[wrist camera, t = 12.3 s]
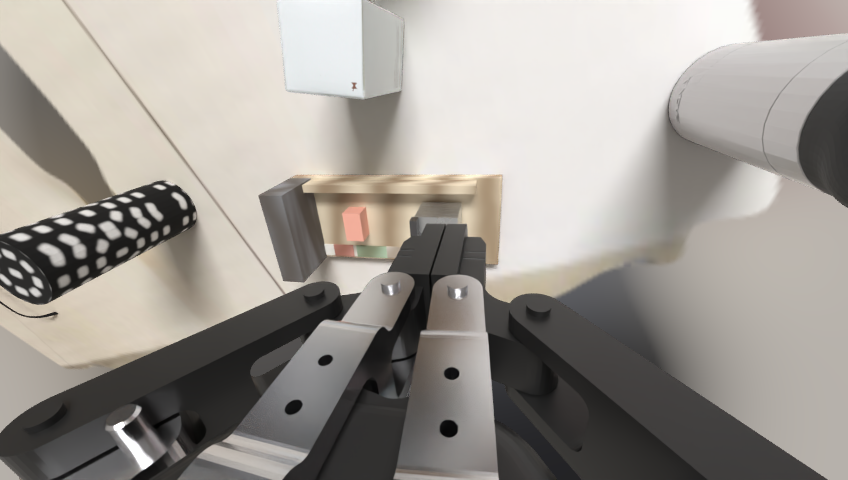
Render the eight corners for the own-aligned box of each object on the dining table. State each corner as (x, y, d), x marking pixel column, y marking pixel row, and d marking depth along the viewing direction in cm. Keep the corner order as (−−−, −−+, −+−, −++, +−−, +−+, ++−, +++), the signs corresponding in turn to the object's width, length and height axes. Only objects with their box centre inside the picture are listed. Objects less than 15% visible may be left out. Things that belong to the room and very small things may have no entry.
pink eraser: (365, 207, 45) (359, 213, 43) (369, 233, 47) (363, 241, 45) (349, 206, 46) (342, 213, 44) (353, 233, 47) (346, 240, 45)
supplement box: (405, 17, 36) (365, -5, 25) (402, 92, 39) (365, 103, 28) (340, 12, 37) (272, -12, 26) (342, 86, 40) (284, 93, 29)
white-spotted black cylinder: (150, 217, 55) (-9, 287, 38) (146, 172, 51) (-34, 226, 34) (196, 236, 55) (59, 315, 38) (196, 192, 51) (42, 257, 34)
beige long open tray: (502, 174, 41) (503, 198, 34) (497, 259, 47) (498, 295, 39) (296, 175, 47) (258, 195, 39) (313, 250, 52) (283, 281, 45)
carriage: (461, 202, 42) (456, 222, 37) (461, 244, 45) (457, 269, 39) (420, 201, 43) (409, 221, 38) (422, 243, 46) (413, 266, 40)
